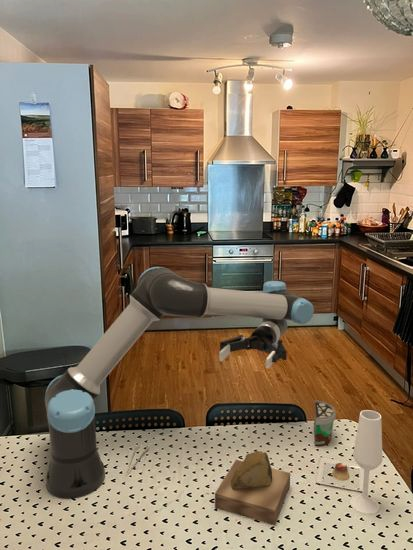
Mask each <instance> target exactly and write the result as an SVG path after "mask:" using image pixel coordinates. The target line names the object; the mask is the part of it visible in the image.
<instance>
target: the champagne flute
mask: <svg viewBox="0 0 413 550" xmlns="http://www.w3.org/2000/svg"><path fill="white" fill-rule="evenodd" d="M382 430H383V427H382V415H381V414H380V413H379V412H377V411H375V410H371V409H370V410H369V409H365V410H364V409H363V410H361V411H360V413H359V417H358V423H357V430H356V436H355V440H354V446H353V454H352V455H353V459H354V461H355V463H357V464H358V465H359V466H360V467H361V468H363V469H364V481H363V492H362V495H361V494H359V495H354V496H352V498H350V501H349V502H350V505H351V507H352V508H353V509H354V510H356V511H357V512H358V513H362V514H366V515H371V514H372V515H373V514H376V513H377V512H378V511H379V509H380V506H379V503H378V502H377V501H376V500H375V499H373V498H372V497H370V496H368V495H369V494H368V493H369V482H370V481H369V480H370V472H371V471H373V470H375V469H377V468H378V467H379V466H380V465H382V463H383V460H384V459H383V433H382V432H383V431H382Z"/></svg>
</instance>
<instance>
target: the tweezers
mask: <svg viewBox="0 0 413 550" xmlns="http://www.w3.org/2000/svg"><path fill="white" fill-rule="evenodd" d="M140 448H141V445H138V446H137V445H136V446H134V450H133V451H132V455H131V457H130V458H131V459H130V460H129V461H130V462H129V463H128V464H129V465H128V468H127V469H126V472H125V475H124V477H129V475H130V474H131V472H132V471H133V470H134V468H135V466H136V465H137V464H138V462H139V461H140V459H142V458H143V456H145V454H147V452H148V451H149V450H150V449H151V448H150V446H146V447H145V449H144V451H143V452H142V453H141V454H140V455H139V457H138V458H137V459H136V461H135V462H134V463H133V460H134V458H135V455H136V453H137V450H138V449H140ZM132 463H133V465H132V467H131V464H132ZM130 467H131V468H130Z"/></svg>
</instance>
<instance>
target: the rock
mask: <svg viewBox="0 0 413 550" xmlns="http://www.w3.org/2000/svg"><path fill="white" fill-rule="evenodd" d="M271 468H272V464H271V462H270V458H269V455H268V453H267V452H266V451H264V452H263V451H262V450H261V451H260V450H257V451H254V452H251V453H247V454H246V455H245V458H244V459H243V462H242V463H241V465H240V467H239V468H238V469H236V471H235V473H234V475H233V477H232V479H231V486H232V489H238V488H248V487H261V486H269V485H270V484H271V482H272V469H273V468H272V469H271Z"/></svg>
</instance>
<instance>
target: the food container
mask: <svg viewBox="0 0 413 550" xmlns="http://www.w3.org/2000/svg"><path fill="white" fill-rule="evenodd" d="M336 419H337V413H336V410H335V408H334V406H333V405H331V404H330V403H328V402H326V401H322V400H317V399H315V400H314V419H313V420H314V421H313V435H314V436H313V437H314V438H313V439H314V447H324V446H327V445H329V444H330V443H331V441H332V435H333V434H332V433H333V425H334V421H335V420H336Z"/></svg>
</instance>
